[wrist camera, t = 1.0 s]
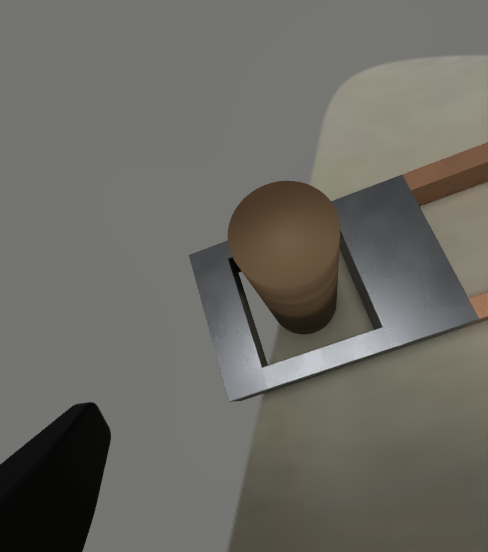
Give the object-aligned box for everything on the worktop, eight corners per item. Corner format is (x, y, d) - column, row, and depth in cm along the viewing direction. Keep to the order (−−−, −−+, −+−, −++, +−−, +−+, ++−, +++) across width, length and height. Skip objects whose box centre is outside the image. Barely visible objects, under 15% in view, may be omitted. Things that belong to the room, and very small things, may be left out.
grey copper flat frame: (625, 274, 19) (667, 256, 16) (240, 400, 21) (228, 401, 18) (535, 145, 21) (560, 115, 19) (203, 269, 24) (189, 255, 21)
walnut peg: (346, 321, 21) (358, 261, 12) (283, 342, 21) (245, 301, 12) (322, 262, 22) (316, 165, 13) (263, 283, 22) (215, 204, 13)
